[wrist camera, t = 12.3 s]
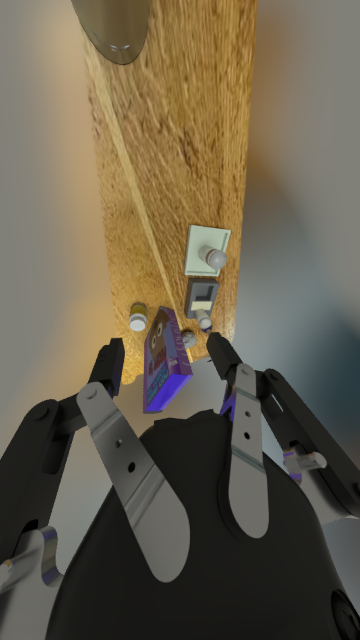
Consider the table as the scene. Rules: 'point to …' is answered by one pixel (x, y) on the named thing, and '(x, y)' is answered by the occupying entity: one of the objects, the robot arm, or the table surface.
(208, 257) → the cylinder
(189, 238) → the pale green flat frame
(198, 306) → the fuse block
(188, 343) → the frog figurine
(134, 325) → the supplement bottle
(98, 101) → the table surface
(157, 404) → the cereal box
